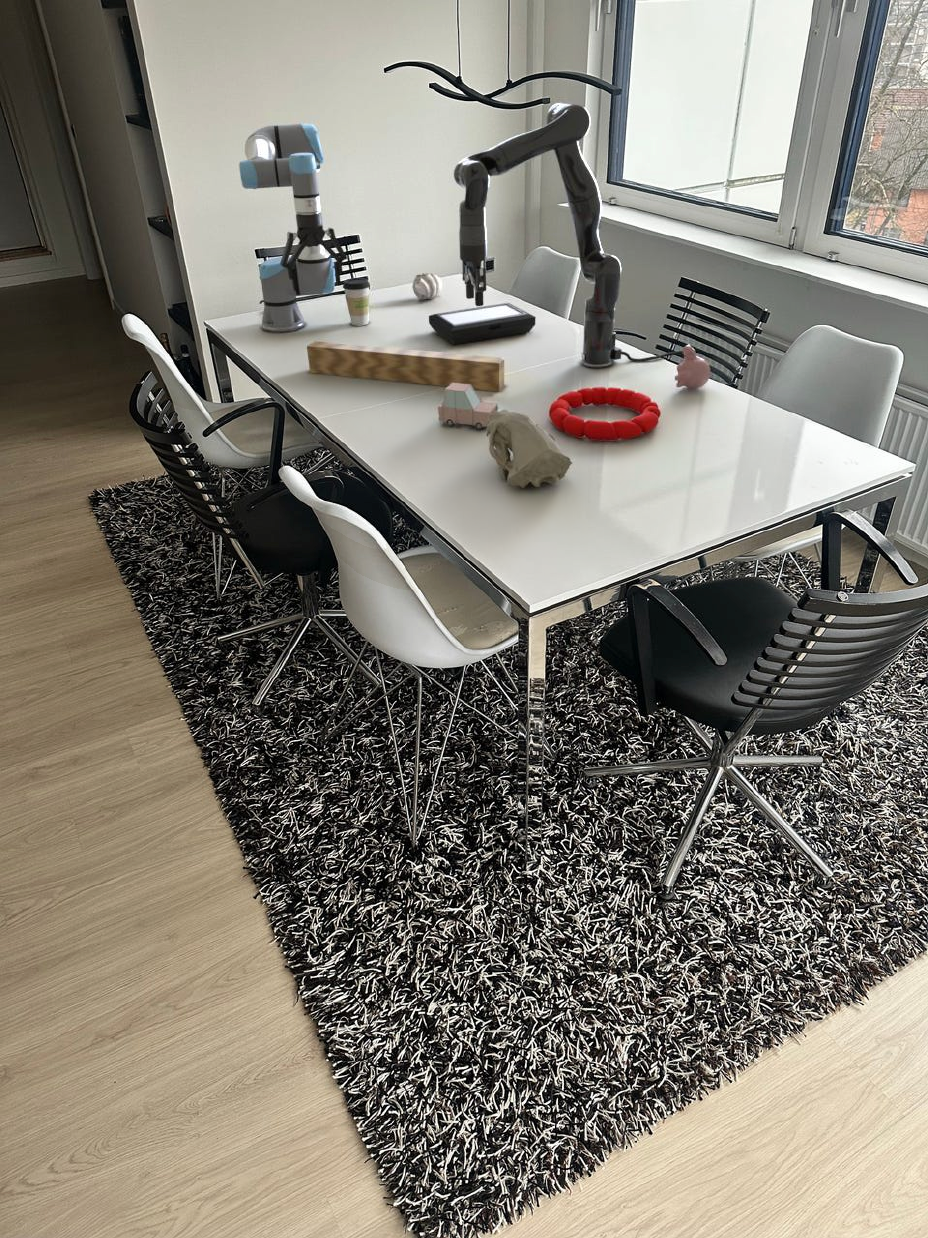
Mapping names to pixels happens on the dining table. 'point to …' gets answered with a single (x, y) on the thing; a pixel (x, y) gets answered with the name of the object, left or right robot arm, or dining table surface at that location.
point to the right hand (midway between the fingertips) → (474, 301)
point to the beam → (406, 365)
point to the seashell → (427, 286)
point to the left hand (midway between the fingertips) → (317, 287)
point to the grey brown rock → (525, 450)
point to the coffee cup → (357, 300)
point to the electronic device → (482, 323)
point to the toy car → (465, 406)
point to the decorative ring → (604, 428)
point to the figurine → (692, 370)
